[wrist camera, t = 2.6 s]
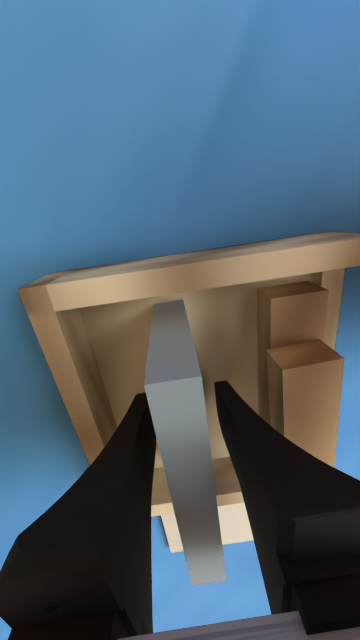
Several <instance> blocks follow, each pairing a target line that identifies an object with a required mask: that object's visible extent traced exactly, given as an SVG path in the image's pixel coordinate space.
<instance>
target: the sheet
mask: <svg viewBox="0 0 360 640" xmlns="http://www.w3.org/2000/svg"><path fill="white" fill-rule="evenodd" d="M144 387H145V392H146V396H147V400H148V404H149V408H150V413H151V417H152V421H153V425H154V429H155V433H156V438H157V442H158V446H159V450H160V454H161V458H162V463H163V467H164V471H165V475H166V479H167V484H168V488H169V492H170V496H171V500H172V504H173V509H174V513H175V517H176V521H177V525H178V530H179V534H180V538H181V542H182V546H183V550H184V555H185V559H186V563H187V567H188V571H189V575H190V580H191V584H192V586H196V585H203V584H209V583H216V582H222V581H227V580H226V572H225V564H224V556H223V547H222V539H221V531H220V523H219V515H218V506H217V498H216V490H215V482H214V474H213V465H212V457H211V449H210V441H209V433H208V424H207V416H206V408H205V400H204V392H203V383H202V376H201V372H200V367H199V363H198V359H197V355H196V351H195V347H194V342H193V338H192V334H191V330H190V326H189V322H188V318H187V313H186V309H185V305H184V301H183V300H176V301H170V302H163V303H156V304H153V313H152V321H151V330H150V338H149V346H148V355H147V363H146V372H145V380H144Z"/></svg>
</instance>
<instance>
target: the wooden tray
mask: <svg viewBox="0 0 360 640" xmlns="http://www.w3.org/2000/svg"><path fill="white" fill-rule="evenodd" d="M356 266H360V233H348V232H335V231H330V232H323V233H316V234H310V235H303V236H296V237H289V238H283V239H276V240H269V241H262V242H256V243H249V244H242V245H236V246H229V247H222V248H215V249H209V250H202V251H195V252H189V253H182V254H175V255H168V256H162V257H155V258H148V259H141V260H135V261H128V262H121V263H115V264H108V265H101V266H94V267H88V268H81V269H74V270H68V271H61V272H54V273H50V274H48V275H46V276H44V277H42V278H40V279H38V280H35V281H33V282H31V283H29V284H27V285H25V286H23V287H21V288H19V289H17V291H18V293H19V295H20V298H21V300H22V303H23V305H24V307H25V310H26V312H27V315H28V317H29V320H30V322H31V324H32V327H33V329H34V332H35V334H36V336H37V339H38V341H39V344H40V346H41V349H42V351H43V353H44V356H45V358H46V361H47V363H48V365H49V368H50V370H51V373H52V375H53V378H54V380H55V382H56V385H57V387H58V390H59V392H60V394H61V397H62V399H63V402H64V404H65V407H66V409H67V411H68V414H69V416H70V419H71V421H72V423H73V426H74V428H75V431H76V433H77V436H78V438H79V440H80V443H81V445H82V448H83V450H84V452H85V455H86V457H87V460H88V462H89V465H91V464H92V463H93V461H94V460H95V459H96V458H97V456H98V455H99V454H100V452H101V451H102V450H103V448H104V447H105V446H106V444H107V443H108V441H109V440H110V438H111V437H112V435H113V434H114V432H115V431H116V429H117V428H118V426H119V424H120V423H121V421H122V419H123V417H124V416H125V414H126V412H127V410H128V409H129V407H130V405H131V403H132V401H133V399H134V397H135V395H136V394H139V393H145V387H144V380H145V372H146V363H147V355H148V346H149V338H150V330H151V321H152V313H153V304H156V303H163V302H170V301H176V300H183V301H184V305H185V309H186V313H187V318H188V322H189V326H190V330H191V334H192V338H193V342H194V347H195V351H196V355H197V359H198V363H199V367H200V372H201V376H202V383H203V392H204V400H205V408H206V416H207V424H208V433H209V441H210V449H211V457H212V465H213V474H214V482H215V490H216V498H217V506H224V505H231V504H237V503H244V499H243V496H242V492H241V488H240V485H239V481H238V478H237V475H236V473H235V470H234V467H233V464H232V461H231V458H230V455H229V453H228V450H227V447H226V444H225V441H224V438H223V435H222V432H221V428H220V424H219V419H218V415H217V407H216V397H215V387H214V382H218V381H225V380H226V381H228V382H229V383H230V385H231V386H232V387H233V389H234V390H235V391H236V392H237V393H238V394H239V396H240V397H241V398H242V399H243V400H244V401H245V402H246V403H247V404H248V405H249V406H250V407H251V408H252V409H253V410H254V411H255V412H256V413H257V414H258V333H257V288H263V287H270V286H277V285H283V284H290V283H297V282H303V281H309V282H311V283H314V284H316V285H318V286H321V287H323V288H325V289H327V290H329V294H328V303H327V312H326V322H325V331H324V340H323V342H324V343H325V344H326V345H328V346H329V347H330V348H332V349H333V350H334V349H335V341H336V334H337V326H338V318H339V311H340V303H341V296H342V288H343V280H344V273H345V268H349V267H356ZM172 513H174V509H173V504H172V500H171V496H170V492H169V488H168V484H167V479H166V475H165V471H164V467H163V463H162V458H161V454H160V450H159V446H158V442H157V438H156V453H155V464H154V475H153V485H152V500H151V517H153V516H159V515H166V514H172Z"/></svg>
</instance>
